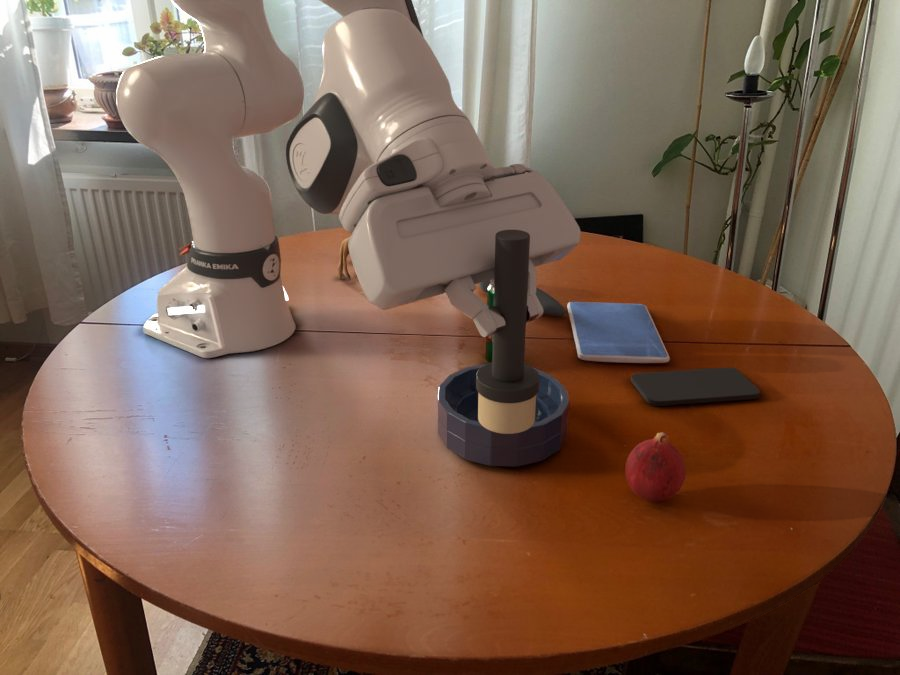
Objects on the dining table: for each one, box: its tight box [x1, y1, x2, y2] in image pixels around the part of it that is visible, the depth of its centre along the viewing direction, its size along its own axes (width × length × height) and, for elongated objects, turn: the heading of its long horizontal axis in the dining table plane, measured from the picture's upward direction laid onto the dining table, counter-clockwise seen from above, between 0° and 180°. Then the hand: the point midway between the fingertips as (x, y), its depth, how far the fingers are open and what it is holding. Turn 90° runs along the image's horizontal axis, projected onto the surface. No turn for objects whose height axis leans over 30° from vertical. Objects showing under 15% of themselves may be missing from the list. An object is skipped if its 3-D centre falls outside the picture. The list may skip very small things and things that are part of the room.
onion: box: [624, 431, 687, 503], centre depth 74 cm, size 6×6×8 cm
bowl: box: [437, 363, 570, 467], centre depth 85 cm, size 15×15×6 cm
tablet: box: [566, 301, 671, 364], centre depth 110 cm, size 19×13×1 cm, turn 177°
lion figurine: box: [337, 233, 352, 282], centre depth 132 cm, size 15×5×9 cm, turn 178°
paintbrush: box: [477, 280, 567, 317], centre depth 120 cm, size 20×5×5 cm, turn 48°
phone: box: [630, 366, 761, 407], centre depth 95 cm, size 7×1×15 cm
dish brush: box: [476, 230, 540, 434], centre depth 59 cm, size 5×5×16 cm
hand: (514, 325), depth 58 cm, fingers closed on dish brush, 2 cm apart
